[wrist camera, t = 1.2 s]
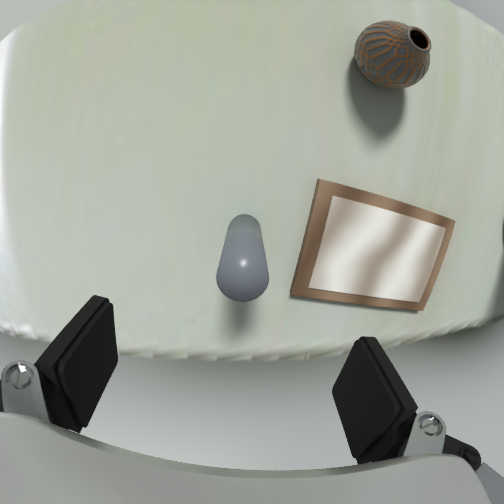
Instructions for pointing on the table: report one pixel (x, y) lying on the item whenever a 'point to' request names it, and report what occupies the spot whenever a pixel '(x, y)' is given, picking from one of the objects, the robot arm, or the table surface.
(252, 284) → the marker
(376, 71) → the vase
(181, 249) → the table surface
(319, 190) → the brown picture frame
